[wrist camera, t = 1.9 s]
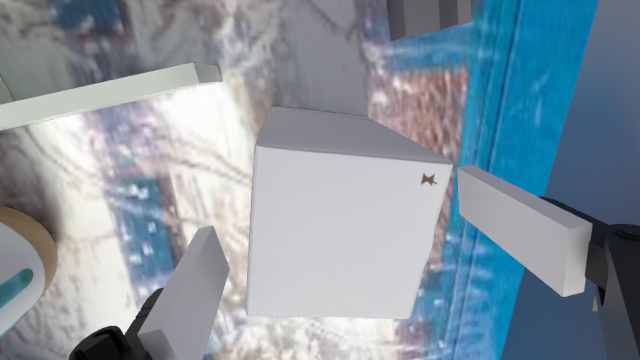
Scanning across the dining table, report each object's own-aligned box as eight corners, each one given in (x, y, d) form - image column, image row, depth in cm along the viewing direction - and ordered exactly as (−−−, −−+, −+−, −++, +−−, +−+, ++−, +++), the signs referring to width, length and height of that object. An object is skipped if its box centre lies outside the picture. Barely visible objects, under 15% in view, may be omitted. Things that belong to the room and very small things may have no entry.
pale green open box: (12, 128, 24) (-91, 147, 17) (-103, -73, 19) (-303, -150, 13) (222, 81, 24) (199, 83, 18) (158, -125, 20) (96, -224, 13)
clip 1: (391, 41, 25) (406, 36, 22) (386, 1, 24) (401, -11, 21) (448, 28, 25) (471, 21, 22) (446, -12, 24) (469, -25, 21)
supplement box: (269, 103, 26) (250, 135, 11) (369, 115, 27) (462, 157, 13) (262, 200, 28) (240, 321, 14) (353, 207, 30) (414, 324, 16)
